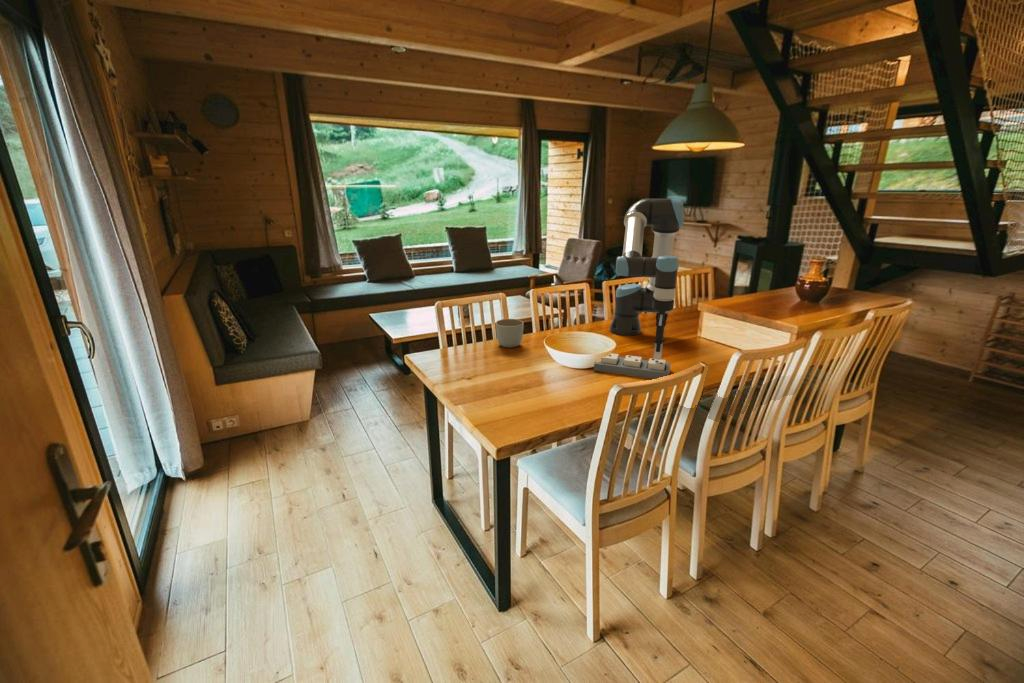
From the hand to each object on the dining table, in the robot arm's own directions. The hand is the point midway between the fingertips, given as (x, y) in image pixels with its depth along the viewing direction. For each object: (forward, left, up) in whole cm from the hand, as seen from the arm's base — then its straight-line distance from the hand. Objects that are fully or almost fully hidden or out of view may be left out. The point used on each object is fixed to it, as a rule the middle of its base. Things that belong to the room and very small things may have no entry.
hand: (657, 358), depth 180 cm
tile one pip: (0, -18, -4) cm, 18 cm away
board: (0, -9, -6) cm, 11 cm away
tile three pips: (0, 0, -4) cm, 4 cm away
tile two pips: (0, -9, -4) cm, 10 cm away
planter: (-11, -65, -6) cm, 66 cm away
